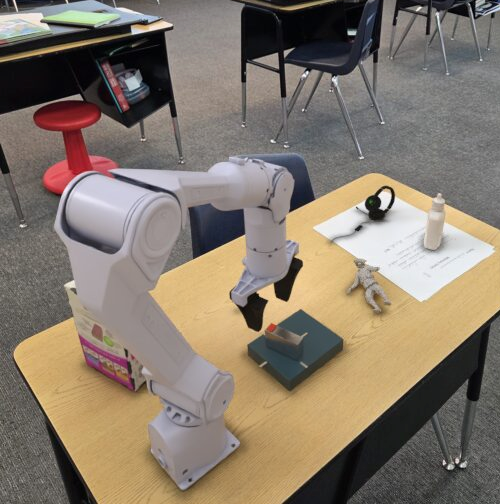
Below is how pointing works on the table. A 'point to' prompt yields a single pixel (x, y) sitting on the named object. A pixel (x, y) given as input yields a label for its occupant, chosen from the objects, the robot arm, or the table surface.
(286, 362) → the tap console
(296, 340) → the tap handle
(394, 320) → the table surface
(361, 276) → the soldier figure
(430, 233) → the eye dropper bottle
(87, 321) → the candy bar box
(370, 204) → the headset
